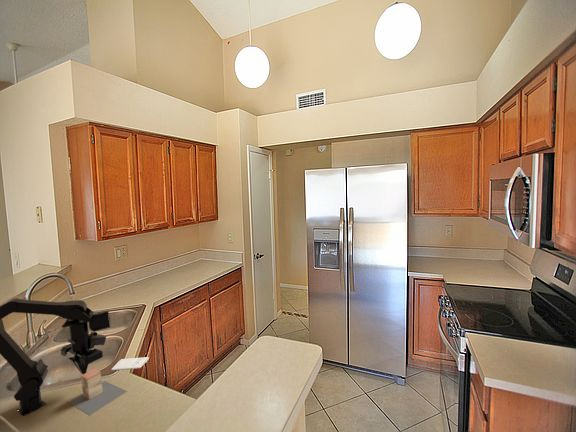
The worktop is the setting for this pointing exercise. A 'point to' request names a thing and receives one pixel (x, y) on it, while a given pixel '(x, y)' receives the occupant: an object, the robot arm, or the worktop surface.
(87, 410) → the mat
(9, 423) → the worktop surface
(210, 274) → the worktop surface
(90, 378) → the block
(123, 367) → the external hard drive
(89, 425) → the worktop surface
